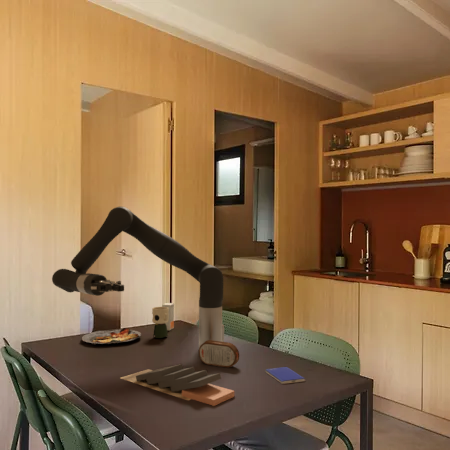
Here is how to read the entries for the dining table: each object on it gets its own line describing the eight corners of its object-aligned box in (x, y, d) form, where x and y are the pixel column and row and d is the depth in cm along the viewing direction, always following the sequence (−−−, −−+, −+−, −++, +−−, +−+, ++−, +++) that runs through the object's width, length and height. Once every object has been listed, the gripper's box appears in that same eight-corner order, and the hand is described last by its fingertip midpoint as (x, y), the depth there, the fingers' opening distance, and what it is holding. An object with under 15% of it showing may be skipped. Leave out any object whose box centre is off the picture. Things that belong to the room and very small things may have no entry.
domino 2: (146, 379, 144) (172, 374, 136) (167, 372, 151) (193, 366, 143) (147, 384, 143) (173, 379, 136) (168, 377, 150) (195, 372, 143)
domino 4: (170, 386, 137) (199, 380, 130) (191, 378, 144) (220, 372, 137) (171, 391, 137) (200, 386, 129) (192, 383, 144) (221, 378, 136)
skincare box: (170, 330, 220) (170, 305, 220) (161, 330, 221) (161, 304, 221) (174, 328, 226) (174, 303, 226) (165, 327, 227) (165, 302, 227)
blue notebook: (265, 369, 158) (282, 380, 147) (287, 366, 161) (305, 377, 149) (265, 373, 158) (282, 385, 147) (287, 371, 161) (305, 382, 149)
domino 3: (158, 382, 140) (185, 377, 133) (179, 375, 147) (206, 369, 140) (159, 388, 140) (186, 383, 133) (180, 380, 147) (207, 375, 140)
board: (119, 380, 149) (119, 378, 149) (148, 371, 159) (148, 369, 159) (188, 403, 130) (188, 400, 130) (216, 391, 140) (216, 388, 140)
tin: (239, 367, 164) (239, 343, 164) (236, 369, 161) (236, 345, 161) (201, 361, 170) (201, 338, 170) (197, 364, 168) (197, 340, 168)
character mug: (147, 336, 209) (147, 307, 209) (161, 334, 213) (161, 305, 213) (159, 341, 200) (159, 310, 200) (174, 338, 205) (174, 308, 205)
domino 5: (181, 390, 134) (213, 400, 126) (203, 381, 141) (234, 390, 133) (181, 395, 134) (213, 406, 126) (202, 387, 141) (234, 396, 133)
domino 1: (135, 375, 147) (160, 370, 140) (157, 369, 154) (182, 363, 147) (136, 381, 146) (161, 376, 139) (158, 374, 153) (183, 369, 146)
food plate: (137, 331, 218) (137, 324, 217) (145, 344, 195) (145, 335, 195) (81, 337, 210) (81, 329, 210) (83, 351, 188) (82, 342, 187)
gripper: (106, 292, 175) (137, 297, 164) (75, 296, 165) (106, 301, 154) (107, 272, 175) (137, 275, 164) (75, 275, 165) (106, 278, 154)
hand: (122, 288), depth 159 cm, fingers closed
